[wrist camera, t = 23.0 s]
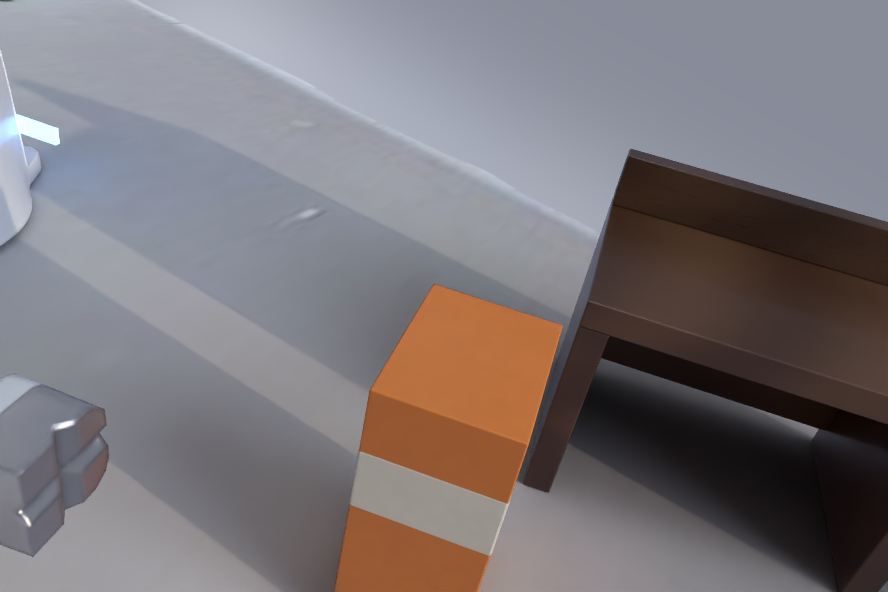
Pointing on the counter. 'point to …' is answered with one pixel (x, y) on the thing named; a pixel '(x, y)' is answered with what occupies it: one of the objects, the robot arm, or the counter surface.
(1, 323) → the counter surface
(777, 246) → the brown wooden cabinet
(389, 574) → the packet
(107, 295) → the counter surface
